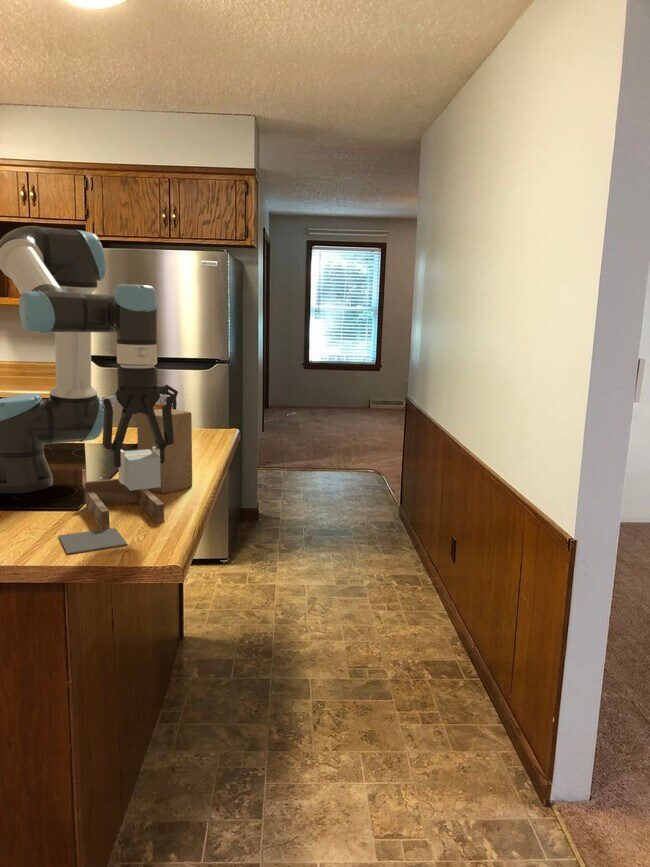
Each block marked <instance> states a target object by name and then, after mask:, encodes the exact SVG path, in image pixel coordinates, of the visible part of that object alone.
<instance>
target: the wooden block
mask: <svg viewBox="0 0 650 867" xmlns="http://www.w3.org/2000/svg"><path fill="white" fill-rule="evenodd" d="M154 413H155V417H156V420H157V423H158V426H159V429H160V431H161V434H162V437H163V439H164V427H163V415H162V409H157V410H154ZM171 413H172V425H173V437H174V443H173V444H171V445H168V446H166V448H165V461H164V463H160V473H161V487H157V488H148V490H149V491H150V492H154V493H157V494H161V495H163V494H167V493H172V492H175V491H179V490H184V489H190V488H192V487H193V444H192V443H193V439H192V438H193V436H192V435H193V433H192V431H193V430H192V428H193V427H192V426H193V425H192V423H193V421H192V418H193V416H192V412H191V411H184V410H180V409H176V410H175V409H173V408H172V409H171ZM136 418H137V419H136V423H137V424H136V425H137V450H146V449H150V450H151V451H152V447H157V445H156V443H155V440H154V437H153V434H152V431H151V428H150V426H149V423H148V420H147V417H146V415H145V414H143V413H137V414H136Z"/></svg>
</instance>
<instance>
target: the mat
mask: <svg viewBox="0 0 650 867" xmlns="http://www.w3.org/2000/svg"><path fill="white" fill-rule="evenodd" d="M58 538H59V540H60V543H61V545H62V547H63V549H64V552H65V553H66V555H74V554H75V555H76V554H80V553H88V552H94V551H100V550H106V549H113V547H115V548H121V547H127V545H128V543H127V541H126V540H125V538H124V537H123V536H122V535H121V533H120V532H119V530H117V528H116V527H110V528H109V529H95V530H88V531H87V530H86V531H81V532H73V533H67V534H66V533H65V534H58Z"/></svg>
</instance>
